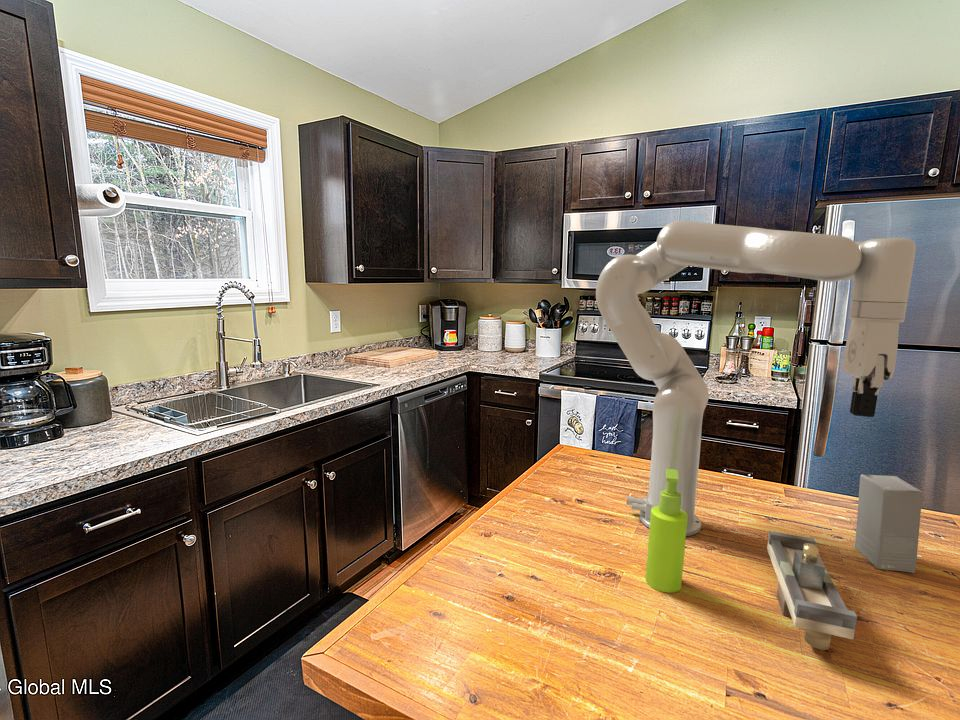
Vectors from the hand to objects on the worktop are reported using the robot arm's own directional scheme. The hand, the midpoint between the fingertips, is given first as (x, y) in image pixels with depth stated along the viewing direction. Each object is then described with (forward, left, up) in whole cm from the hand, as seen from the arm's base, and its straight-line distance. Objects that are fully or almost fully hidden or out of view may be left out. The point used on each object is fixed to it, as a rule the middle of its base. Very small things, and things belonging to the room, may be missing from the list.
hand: (861, 414), depth 89 cm
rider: (-10, -19, -24) cm, 32 cm away
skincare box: (+8, +5, -29) cm, 31 cm away
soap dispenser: (-31, -18, -29) cm, 46 cm away
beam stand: (-10, -18, -29) cm, 36 cm away
